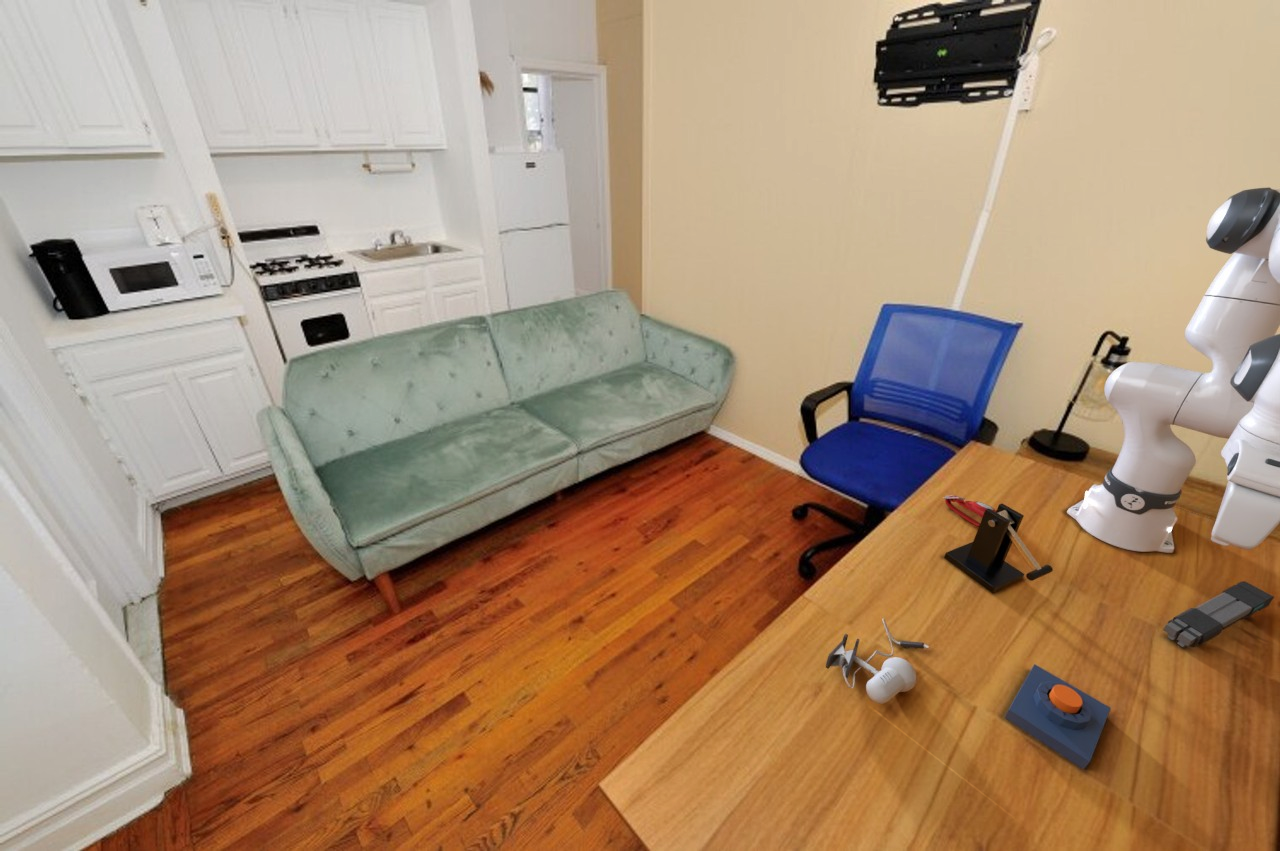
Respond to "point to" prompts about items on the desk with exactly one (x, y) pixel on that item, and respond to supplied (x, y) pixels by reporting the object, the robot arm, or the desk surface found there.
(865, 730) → the desk surface
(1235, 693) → the desk surface
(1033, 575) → the switch lever
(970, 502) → the tracker holder
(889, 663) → the clip-on lamp
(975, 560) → the switch bracket
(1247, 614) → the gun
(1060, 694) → the button
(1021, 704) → the control block
